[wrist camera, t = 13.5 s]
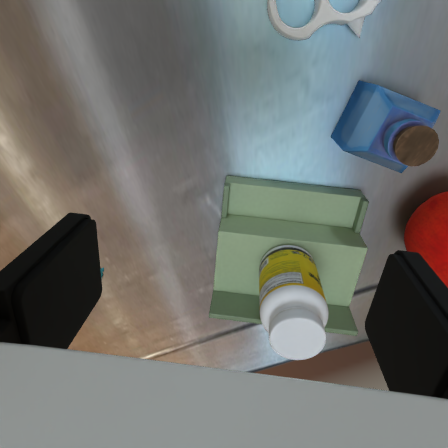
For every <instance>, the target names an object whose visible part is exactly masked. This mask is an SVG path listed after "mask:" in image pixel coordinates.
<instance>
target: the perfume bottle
mask: <svg viewBox="0 0 448 448" xmlns="http://www.w3.org/2000/svg"><path fill="white" fill-rule="evenodd" d="M439 114H440V110H438V109H435V108H433V107H430V106H428V105H425V104H423V103H420V102H418V101H415V100H413V99H411V98H408V97H406V96H403V95H401V94H398V93H396V92H393V91H391V90H388V89H386V88H384V87H381V86H379V85H375V84H371V83H367V82H363V81H358V83H357V85H356V87H355V89H354V91H353V93H352V95H351V97H350V99H349V101H348V103H347V105H346V107H345V109H344V111H343V113H342V115H341V117H340V119H339V121H338V123H337V125H336V127H335V129H334V131H333V133H332V135H331V138H332V139H333V140H334V141H335V142H336V143H337V144H338V145H339V146H340V147H341V149H342V150H343V151H346V152H348V153H351V154H353V155H356V156H359V157H361V158H364V159H366V160H369V161H371V162H374V163H377V164H379V165H382V166H384V167H387V168H390V169H392V170H395V171H397V172H400V173H402V172H403V171H404V170H405V169H406V168H407V167H408V166H418V165H421V164H424V163H425V162H427V161H428V160H430V159H431V158H432V157H433V155H434V154H435V153H436V151H437V149H438V144H439V139H438V135H437V133H436V132H435V130H433V129H432V128H433V126H434V124H435V123H436V120H437V118H438V116H439Z"/></svg>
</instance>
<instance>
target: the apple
mask: <svg viewBox="0 0 448 448" xmlns="http://www.w3.org/2000/svg"><path fill="white" fill-rule="evenodd" d="M404 242H405V246H406V250H407V251H409V252H417V253H419V254H420V255H421V256H422V257H423V259H424V260H425V261H426V262H427V263H428V265H429V266H430V267H431V268H432V269H433V271H434V272H435V273H436V274H437V276H438V277H439V278H440V279H441V280H442V282H443V283H444V284H445V285H446V287H447V288H448V191H447V192H442V193H439V194H437V195H435V196H432V197H431V198H429V199H428V200H427V201H425V202H424V203H423V204H421V205H420V206H419V207H418V208H417V209H416V210H415V212H414V213H413V214H412V216H411V217H410V219H409V220H408V222H407V224H406V228H405V233H404Z"/></svg>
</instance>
